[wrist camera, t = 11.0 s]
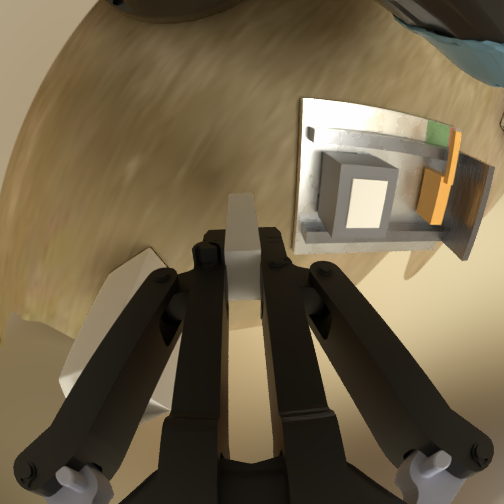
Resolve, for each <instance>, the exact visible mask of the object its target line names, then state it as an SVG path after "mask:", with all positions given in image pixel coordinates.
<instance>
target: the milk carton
mask: <svg viewBox="0 0 504 504" xmlns="http://www.w3.org/2000/svg"><path fill="white" fill-rule="evenodd" d="M163 267H167V266H166V265H165V264H164V263H163V262H162V261H161V260H160V258H159V257H158V256H157V255H156V254H155V252H154V251H153V250H152V249H151V248H148V249H146V250H144V251H143V252H141V253H140V254H138V255H137V256H135V257H134V258H132V259H130V260H129V261H127V262H126V263H124V264H123V265H121V266H120V267H118V268H117V269H115V270H114V271H112V272H111V273H110V274H109V275H108V277H107V278H106V280H105V282H104V284H103V286H102V287H101V289H100V291H99V293H98V295H97V297H96V299H95V300H94V302H93V304H92V306H91V308H90V310H89V312H88V314H87V316H86V318H85V320H84V322H83V324H82V326H81V329H80V331H79V333H78V335H77V337H76V339H75V341H74V344H73V346H72V348H71V350H70V353H69V355H68V357H67V360H66V362H65V365H64V367H63V369H62V372H61V375H60V378H59V383H60V385H61V388H62V390H63V392H64V395H65V397H66V398H67V396H68V394H69V393H70V391H71V389H72V387H73V386H74V384H75V383H76V381H77V379H78V378H79V376H80V374H81V373H82V371H83V369H84V368H85V366H86V365H87V363H88V362H89V360H90V358H91V357H92V355H93V354H94V352H95V351H96V349H97V348H98V346H99V345H100V343H101V342H102V340H103V339H104V337H105V336H106V334H107V333H108V331H109V330H110V328H111V327H112V325H113V324H114V322H115V321H116V319H117V318H118V317H119V315H120V314H121V312H122V311H123V309H124V308H125V307H126V305H127V304H128V302H129V301H130V300H131V298H132V297H133V295H134V294H135V293H136V291H137V290H138V289H139V287H140V286H141V284H142V283H143V282H144V280H145V279H146V278H147V276H148V275H149V274H150V273H151V272H152V271H154V270H156V269H159V268H163ZM181 336H182V333H181V335H180V337H179V339H178V341H177V343H176V345H175V348H174V350H173V352H172V354H171V356H170V358H169V360H168V362H167V364H166V366H165V369H164V371H163V373H162V375H161V377H160V379H159V381H158V384H157V386H156V388H155V390H154V392H153V394H152V397H151V399H150V401H149V403H148V405H147V408H146V410H145V412H144V414H143V416H142V419H141V421H140V423H139V425H140V424H142V423H145V422H147V421H150V420H152V419H155V418H157V417H159V416H161V415H164V414H166V413H168V412H171V405H172V397H173V390H174V382H175V375H176V368H177V361H178V355H179V348H180V342H181Z"/></svg>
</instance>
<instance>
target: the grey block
mask: <svg viewBox="0 0 504 504" xmlns="http://www.w3.org/2000/svg"><path fill="white" fill-rule="evenodd" d="M398 173H399V169H398V168H396V167H394V166H392V165H391V164H389V163H387V162H385V161H383V160H382V159H380V158H378V157H376V156H372V155H363V154H352V153H340V152H326V151H323V162H322V174H321V185H320V196H319V205H318V217H319V218H320V220H321V222H322V223H323V225H324V226H325V228H326V230H327V231H328V233H329V235H330V236H331V238H383V237H386V233H387V229H388V224H389V220H390V215H391V211H392V206H393V201H394V196H395V191H396V185H397V179H398Z"/></svg>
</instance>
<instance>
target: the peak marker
mask: <svg viewBox="0 0 504 504" xmlns="http://www.w3.org/2000/svg"><path fill="white" fill-rule="evenodd" d="M460 141H461V132H458V131H455V130H452V133H451V141H450V148H449V155H448V161H447V166H446V172H445V174H444V173H442V172H440V171H438V170H436V169H430V168H425V173H424V178H423V183H422V188H421V193H420V198H419V202H418V206H417V211H416V213H417V214H418V215H420V216H421V217H422V218H423V219H424V220H425V221H427V222H428V223H429V224H430V225H441V223H442V220H443V216H444V212H445V209H446V205H447V201H448V197H449V192H450V188H451V185H453V181H454V176H455V171H456V166H457V160H458V154H459V148H460Z"/></svg>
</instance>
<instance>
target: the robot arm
mask: <svg viewBox="0 0 504 504" xmlns="http://www.w3.org/2000/svg"><path fill="white" fill-rule="evenodd" d="M240 1H242V0H106V2H107V3H108V4H109V5H111V6H112V7H113V8H115V9H116V10H118V11H120V12H121V13H123V14H125V15H126V16H128V17H130V18H133V19H136V20H139V21H143V22H149V23H161V24H168V23H180V22H187V21H192V20H197V19H201V18H204V17H208V16H211V15H213V14H216V13H219V12H221V11H223V10H226V9H228V8H230V7H232V6H233V5H235V4H237V3H239V2H240ZM374 1H375V2H377V3H378V4H380V5H381V6H383V7H384V8H386V9H387V10H388V11H390V12H391V13H392V14H393V16H394V18H395V20H396V21H398V22H399V23H400V24H401V25H402V26H404V27H405V28H407V29H408V30H410V31H412V32H413V33H416V34H419V35H421V36H422V37H424V38H425V39H426V40H427V41H429V42H430V43H431V44H432V45H433V46H435V47H436V48H437V49H438V50H439V51H440V52H441V53H443V54H444V55H445V56H446V57H447V58H448V59H449V60H450V61H451V62H452V63H454V64H455V65H456V66H457V67H458V68H460V69H461V70H462V71H464V72H465V73H467V74H468V75H470V76H472V77H473V78H475V79H477V80H479V81H481V82H483V83H485V84H487V85H489V86H493V87H503V88H504V0H374ZM192 253H193V259H194V269H192V270H190V271H188V272H185V273H181V274H177V272H176V271H175V270H174V269H172V268H169V267H163V268H159V269H156V270H154V271H152V272H151V273H150V274H149V275H148V276H147V278H146V279H145V280H144V282H143V283H142V284H141V286H140V287H139V289H138V290H137V291H136V293H135V294H134V295H133V297H132V298H131V300H130V301H129V302H128V304H127V305H126V307H125V308H124V309H123V311H122V312H121V314H120V315H119V317H118V318H117V319H116V321H115V322H114V324H113V325H112V327H111V328H110V330H109V331H108V333H107V334H106V336H105V337H104V339H103V340H102V342H101V343H100V345H99V346H98V348H97V349H96V351H95V352H94V354H93V355H92V357H91V358H90V360H89V362H88V363H87V365H86V366H85V368H84V369H83V371H82V373H81V374H80V376H79V378H78V379H77V381H76V383H75V384H74V386H73V387H72V389H71V391H70V393H69V394H68V396H67V398H66V399H65V401H64V403H63V405H62V407H61V408H60V410H59V412H58V413H57V415H56V417H55V419H54V421H53V423H52V424H51V426H50V427H49V428H48V429H46V430H45V431H44V432H43V433H42V434H41V435H40V436H39V437H38V438H37V439H36V440H34V442H32V443H31V444H30V445H29V446H28V447H27V448H26V449H25V450H24V451H23V452H21V453H20V455H18V457H17V458H16V460H15V462H14V466H13V468H14V475H15V478H16V480H17V482H18V483H19V484H20V485H21V487H23V488H24V489H26V490H28V491H31V492H33V493H35V494H38V495H40V496H42V497H44V498H45V500H46V501H47V502H48V504H109V502H110V500H111V499H112V498H113V496H114V493H113V490H112V486H111V484H110V482H109V481H110V480H111V479H112V477H113V476H114V474H115V473H116V472H117V470H118V469H119V467H120V465H121V463H122V461H123V459H124V457H125V455H126V453H127V451H128V448H129V446H130V444H131V441H132V439H133V437H134V434H135V432H136V430H137V428H138V425H139V423H140V421H141V419H142V416H143V414H144V412H145V410H146V408H147V405H148V403H149V401H150V399H151V397H152V394H153V392H154V390H155V388H156V386H157V384H158V381H159V379H160V377H161V375H162V373H163V371H164V369H165V366H166V364H167V362H168V360H169V358H170V356H171V354H172V352H173V350H174V348H175V345H176V343H177V341H178V339H179V337H180V335H181V333H182V336H181V342H180V348H179V355H178V361H177V368H176V375H175V382H174V390H173V397H172V405H171V412H170V415H169V416H167V417H166V418H165V420H164V422H163V427H162V434H161V443H160V453H159V463H158V470H156V471H155V472H153V473H152V474H151V475H150V476H149V477H148V478H146V479H145V480H144V481H143V482H142V483H141V484H140V485H139V486H138V487H137V488H136V489H135V490H134V491H132V492H131V493H130V494H129V495H128V496H127V497H126V498H124V499H123V500H122V501H121V502H120V503H119V504H450V503H451V502H452V500H453V499H454V498H455V496H456V494H457V493H458V491H459V490H460V488H461V487H462V485H463V483H464V482H465V480H466V479H467V478H468V477H470V476H472V475H474V474H476V473H478V472H480V471H482V470H484V469H485V468H486V467H488V465H489V464H490V462H491V461H492V458H493V454H494V447H493V444H492V441H491V439H490V438H489V437H488V436H487V435H486V434H484V433H483V432H482V431H480V430H479V429H478V428H476V427H475V426H473V425H472V424H471V423H469V422H468V421H467V420H465V419H464V418H463V417H461V416H460V415H458V414H457V413H456V412H454V411H453V410H451V409H450V407H449V406H448V404H447V403H446V401H445V400H444V399H443V397H442V396H441V394H440V393H439V392H438V390H437V389H436V387H435V386H434V385H433V384H432V382H431V381H430V379H429V378H428V376H427V375H426V374H425V373H424V371H423V370H422V368H421V367H420V366H419V364H418V363H417V362H416V361H415V359H414V358H413V357H412V355H411V354H410V353H409V351H408V350H407V349H406V348H405V346H404V345H403V344H402V342H401V341H400V340H399V339H398V337H397V336H396V335H395V334H394V332H393V331H392V330H391V329H390V327H389V326H388V325H387V324H386V322H385V321H384V320H383V319H382V318H381V316H380V315H379V314H378V313H377V312H376V310H375V309H374V308H373V307H372V305H371V304H370V303H369V302H368V301H367V300H366V298H365V297H364V296H363V295H362V294H361V293H360V292H359V290H358V289H357V288H356V287H355V285H354V284H353V283H352V282H351V281H350V280H349V278H348V277H347V276H346V275H345V274H344V273H343V272H342V270H341V269H340V268H339V267H338V266H337V265H335V264H334V263H331V262H328V261H317V262H315V263H313V264H312V265H311V266H310V269H308V268H302V267H298V266H296V265H294V264H292V261H291V260H290V258H288V257H287V255H286V251H285V247H284V244H283V240H282V236H281V233H280V231H279V230H278V229H277V228H276V227H259V228H258V224H257V217H256V210H255V203H254V196H253V193H229V196H228V208H227V221H226V229H222V230H208V232H207V233H206V234H205V235H204V238H203V241H202V242H199V243H197V244H196V245H194V246H193V248H192ZM236 300H261V319H262V326H263V336H264V346H265V357H266V367H267V379H268V389H269V400H270V410H271V422H272V433H273V454H274V455H273V456H274V458H271V459H268V460H265V461H261V462H257V463H253V464H250V463H244V462H239V461H234V460H230V453H229V452H230V451H229V439H228V438H229V434H228V340H229V338H228V337H229V304H228V301H236ZM309 326H310V328H311V330H312V331H313V333H314V335H315V336H316V338H317V340H318V341H319V343H320V345H321V346H322V348H323V350H324V351H325V353H326V355H327V356H328V358H329V360H330V362H331V363H332V365H333V367H334V369H335V370H336V372H337V374H338V375H339V377H340V378H341V380H342V382H343V384H344V386H345V387H346V389H347V391H348V392H349V394H350V396H351V398H352V399H353V401H354V403H355V405H356V406H357V408H358V409H359V411H360V413H361V415H362V417H363V418H364V420H365V422H366V424H367V425H368V427H369V429H370V431H371V432H372V434H373V436H374V437H375V439H376V441H377V443H378V445H379V446H380V448H381V449H382V451H383V452H384V454H385V455H386V457H387V458H388V459H389V460H390V461H391V462H392V464H393V465H394V466H395V467H396V468H398V470H397V473H396V478H395V484H396V486H397V487H399V488H400V490H401V491H402V494H403V498H404V499H403V500H401V499H400V498H398V497H397V496H395V495H394V494H392V493H390V492H389V491H388V490H386V489H385V488H383V487H382V486H381V485H379V484H378V483H376V482H375V481H374V480H372V479H371V478H370V477H368V476H366V475H365V474H364V473H363V472H361V471H360V470H359V469H357V468H356V467H355V466H353V465H352V464H350V463H348V462H346V457H345V452H344V448H343V443H342V438H341V434H340V430H339V425H338V420H337V417H336V414H335V413H334V411H333V410H331V409H329V407H328V405H327V400H326V396H325V391H324V387H323V383H322V378H321V374H320V370H319V366H318V361H317V357H316V353H315V349H314V345H313V340H312V337H311V332H310V329H309Z"/></svg>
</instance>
